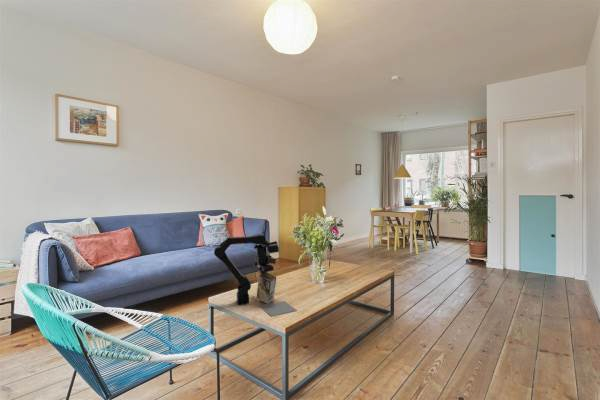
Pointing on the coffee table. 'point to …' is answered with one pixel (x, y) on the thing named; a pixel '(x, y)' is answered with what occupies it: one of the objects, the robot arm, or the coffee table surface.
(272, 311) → the mat
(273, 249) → the robot arm
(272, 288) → the coffee box
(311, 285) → the coffee table surface
